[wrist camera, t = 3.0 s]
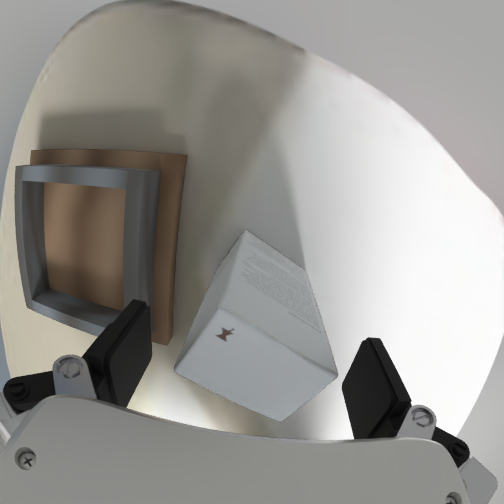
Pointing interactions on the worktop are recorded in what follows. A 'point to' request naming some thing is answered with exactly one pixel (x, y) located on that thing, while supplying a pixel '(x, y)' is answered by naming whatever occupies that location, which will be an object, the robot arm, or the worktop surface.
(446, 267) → the worktop surface
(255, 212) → the worktop surface
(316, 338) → the skincare box
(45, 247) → the socket stand
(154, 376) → the worktop surface
